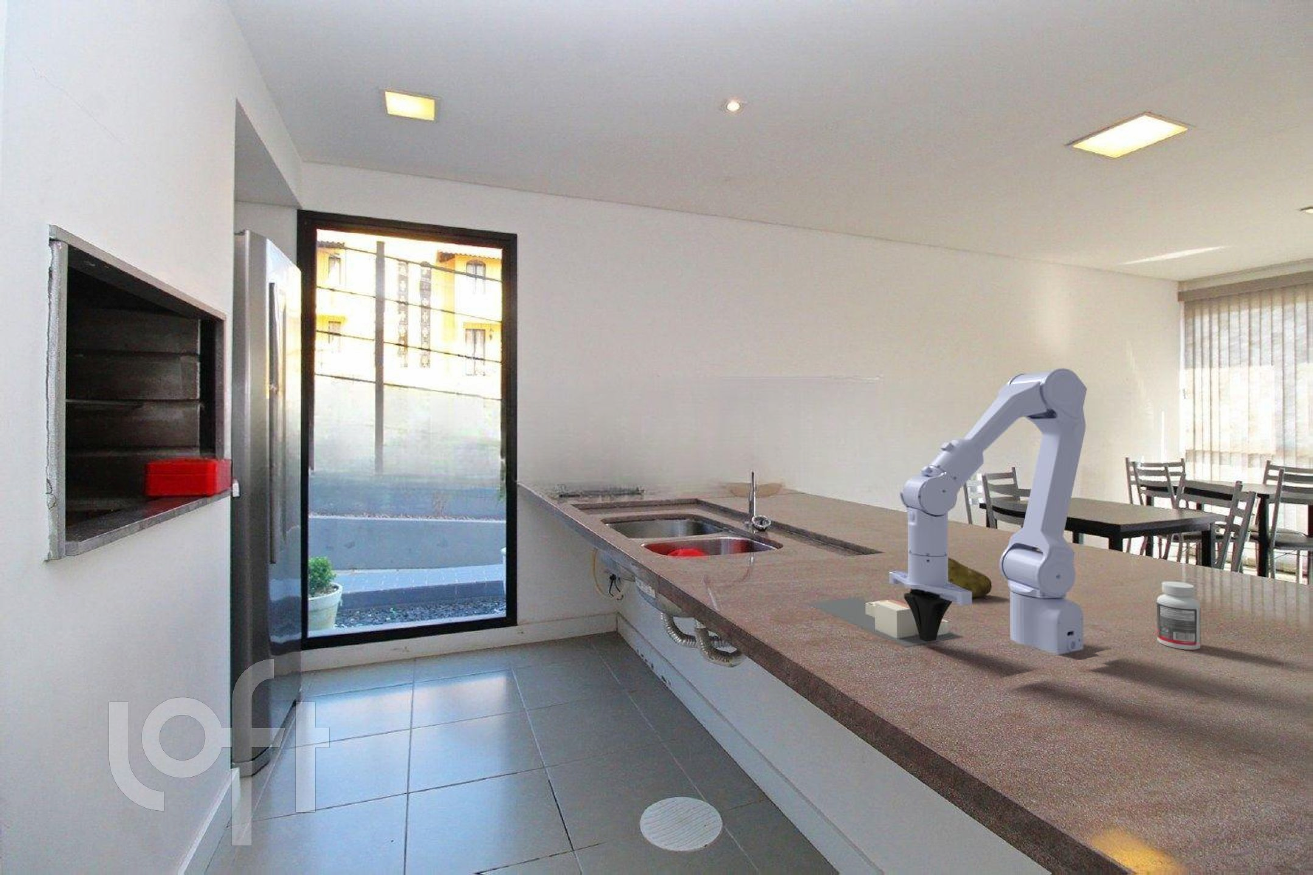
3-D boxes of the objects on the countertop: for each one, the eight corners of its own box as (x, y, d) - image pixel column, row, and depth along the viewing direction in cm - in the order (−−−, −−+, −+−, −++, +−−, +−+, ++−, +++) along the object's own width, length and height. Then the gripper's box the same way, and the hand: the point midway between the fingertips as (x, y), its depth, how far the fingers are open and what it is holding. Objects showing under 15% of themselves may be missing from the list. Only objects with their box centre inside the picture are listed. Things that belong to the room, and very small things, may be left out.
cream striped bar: (948, 633, 101) (948, 620, 101) (925, 637, 99) (925, 624, 99) (886, 610, 114) (886, 599, 114) (865, 613, 112) (865, 602, 112)
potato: (987, 604, 121) (987, 564, 121) (919, 594, 129) (918, 557, 129) (993, 595, 128) (993, 557, 128) (927, 586, 136) (927, 550, 136)
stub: (915, 635, 100) (915, 607, 100) (896, 638, 99) (896, 610, 99) (893, 626, 105) (893, 599, 105) (875, 629, 103) (874, 602, 103)
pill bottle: (1165, 636, 102) (1165, 578, 102) (1206, 646, 97) (1206, 585, 97) (1150, 642, 99) (1150, 582, 99) (1191, 653, 94) (1191, 590, 94)
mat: (962, 643, 99) (962, 636, 99) (906, 654, 95) (906, 646, 95) (855, 602, 124) (855, 596, 124) (805, 609, 119) (805, 603, 119)
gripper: (874, 546, 100) (874, 629, 101) (946, 564, 87) (946, 659, 87) (907, 543, 103) (908, 623, 103) (982, 560, 90) (982, 652, 90)
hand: (928, 639), depth 95 cm, fingers closed
